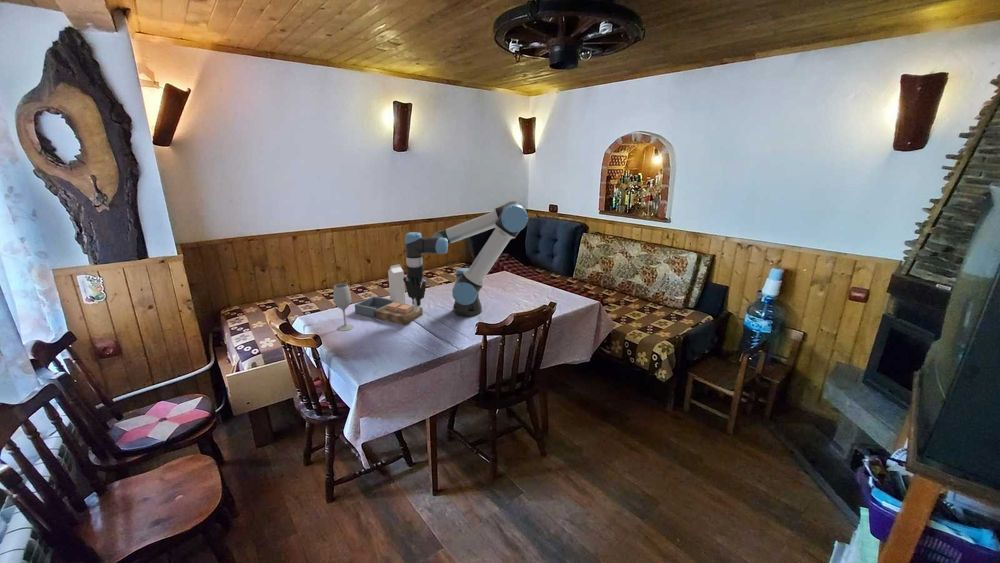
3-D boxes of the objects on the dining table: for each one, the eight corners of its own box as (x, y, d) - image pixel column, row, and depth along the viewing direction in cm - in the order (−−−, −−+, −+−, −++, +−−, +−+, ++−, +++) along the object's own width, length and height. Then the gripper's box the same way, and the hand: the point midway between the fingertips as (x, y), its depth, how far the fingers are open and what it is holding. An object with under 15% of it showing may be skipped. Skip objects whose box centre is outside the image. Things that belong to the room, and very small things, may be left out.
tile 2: (412, 309, 197) (412, 306, 196) (406, 313, 193) (405, 309, 192) (404, 308, 199) (403, 304, 198) (397, 311, 195) (397, 307, 194)
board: (422, 314, 201) (422, 307, 200) (406, 325, 189) (405, 317, 188) (394, 308, 208) (393, 301, 207) (376, 318, 196) (375, 311, 194)
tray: (393, 308, 208) (393, 299, 206) (375, 318, 196) (374, 309, 194) (374, 304, 213) (373, 296, 211) (355, 313, 201) (354, 304, 199)
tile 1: (401, 307, 200) (401, 303, 199) (395, 310, 195) (395, 307, 195) (393, 305, 201) (393, 302, 201) (387, 309, 197) (387, 305, 196)
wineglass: (338, 332, 180) (332, 289, 174) (336, 325, 187) (331, 284, 180) (355, 329, 184) (350, 287, 177) (353, 323, 190) (348, 282, 183)
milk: (405, 304, 215) (403, 265, 208) (395, 306, 211) (393, 267, 204) (400, 300, 219) (397, 262, 212) (390, 303, 215) (387, 264, 208)
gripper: (430, 265, 186) (432, 311, 194) (408, 261, 191) (410, 306, 199) (421, 269, 180) (423, 316, 187) (398, 265, 185) (401, 311, 192)
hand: (416, 311), depth 193 cm, fingers closed
